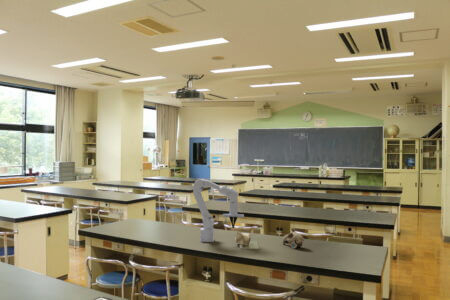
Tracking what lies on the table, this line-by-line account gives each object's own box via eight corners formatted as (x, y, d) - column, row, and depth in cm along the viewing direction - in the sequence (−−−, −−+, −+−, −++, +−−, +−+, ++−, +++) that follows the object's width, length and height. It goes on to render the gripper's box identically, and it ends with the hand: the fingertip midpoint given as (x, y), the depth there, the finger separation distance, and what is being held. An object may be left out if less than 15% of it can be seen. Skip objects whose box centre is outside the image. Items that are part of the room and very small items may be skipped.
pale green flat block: (239, 248, 225) (240, 246, 225) (238, 240, 245) (238, 238, 245) (259, 248, 225) (259, 246, 225) (256, 241, 245) (256, 239, 245)
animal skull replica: (287, 243, 241) (287, 228, 241) (306, 248, 228) (307, 233, 228) (279, 245, 236) (279, 230, 236) (299, 250, 223) (299, 235, 223)
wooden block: (237, 234, 231) (250, 238, 231) (237, 232, 239) (249, 235, 239) (235, 242, 231) (248, 245, 231) (235, 239, 239) (247, 242, 239)
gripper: (222, 208, 237) (222, 228, 237) (244, 209, 237) (243, 229, 237) (223, 207, 244) (222, 226, 244) (243, 207, 244) (243, 226, 244)
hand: (233, 227), depth 241 cm, fingers closed
